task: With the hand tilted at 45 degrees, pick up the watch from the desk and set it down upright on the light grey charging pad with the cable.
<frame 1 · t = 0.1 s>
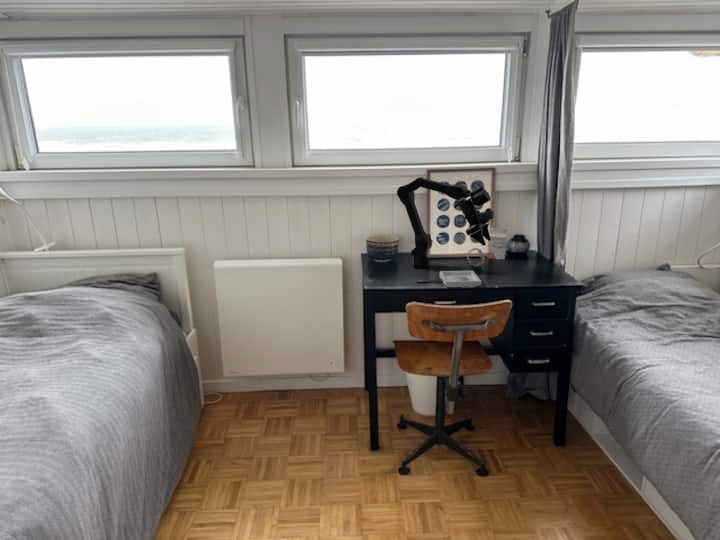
hand: (487, 242, 213), 15 cm above the table, tool tilted 35°, fingers open, 9 cm apart
ink cartridge box: (496, 258, 244), on the table
watch: (475, 272, 222), on the table
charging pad: (459, 281, 210), on the table
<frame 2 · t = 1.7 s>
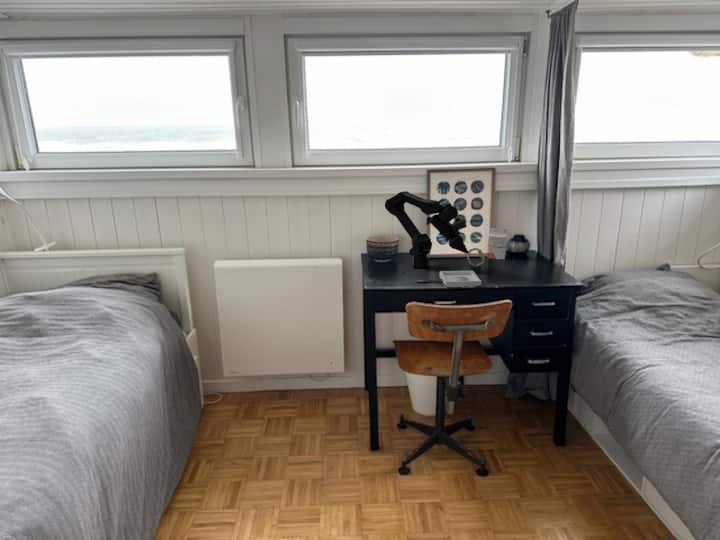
hand: (466, 250, 219), 10 cm above the table, tool tilted 45°, fingers open, 9 cm apart
nothing on the table moved.
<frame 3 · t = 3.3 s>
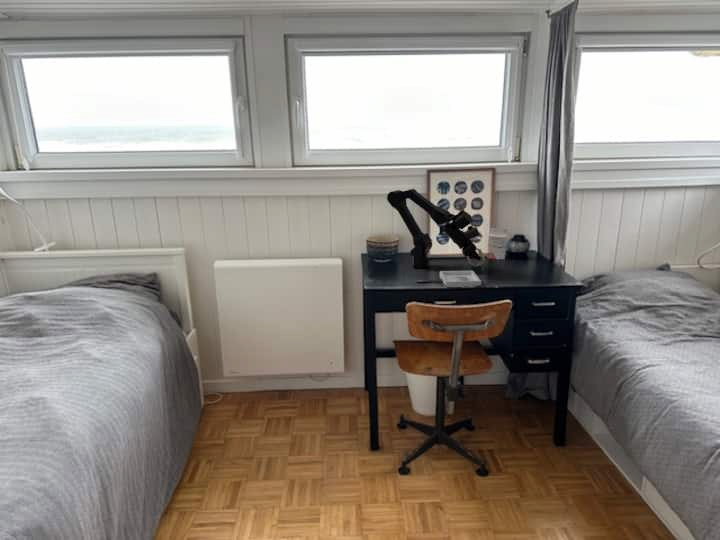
hand: (479, 258, 220), 7 cm above the table, tool tilted 45°, fingers closed on watch, 5 cm apart
watch: (475, 272, 222), on the table, touching gripper
everything else where it was.
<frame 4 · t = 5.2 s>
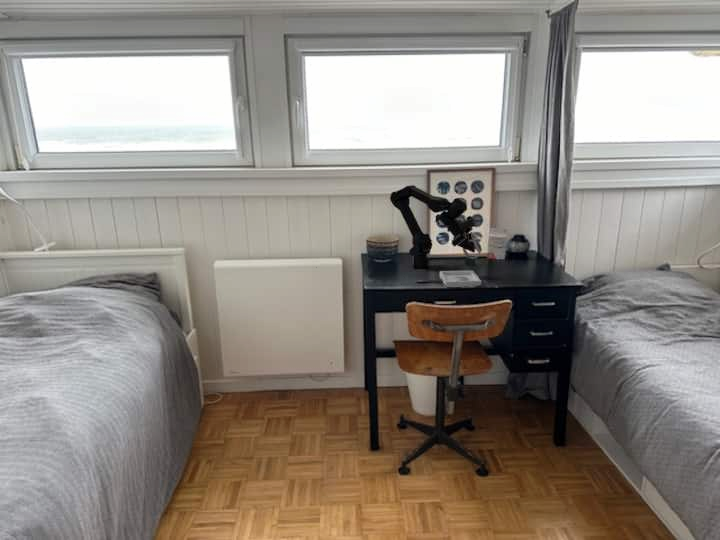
hand: (475, 250, 212), 12 cm above the table, tool tilted 45°, fingers closed on watch, 5 cm apart
watch: (471, 264, 214), point 5 cm above the table, touching gripper
everything else where it was.
when the fingers open (8 cm above the table, at t = 7.2 s): watch stays where it is, resting on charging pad.
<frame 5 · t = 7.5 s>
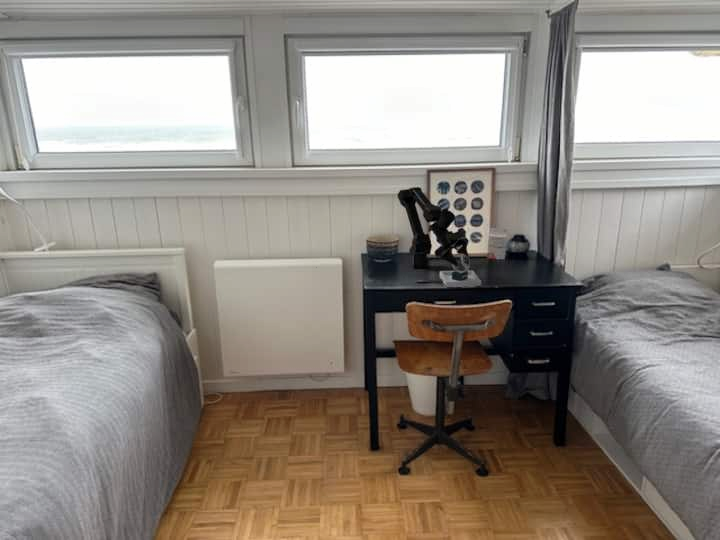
hand: (463, 263, 206), 9 cm above the table, tool tilted 45°, fingers open, 9 cm apart
watch: (459, 279, 209), point 1 cm above the table, touching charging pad
everything else where it was.
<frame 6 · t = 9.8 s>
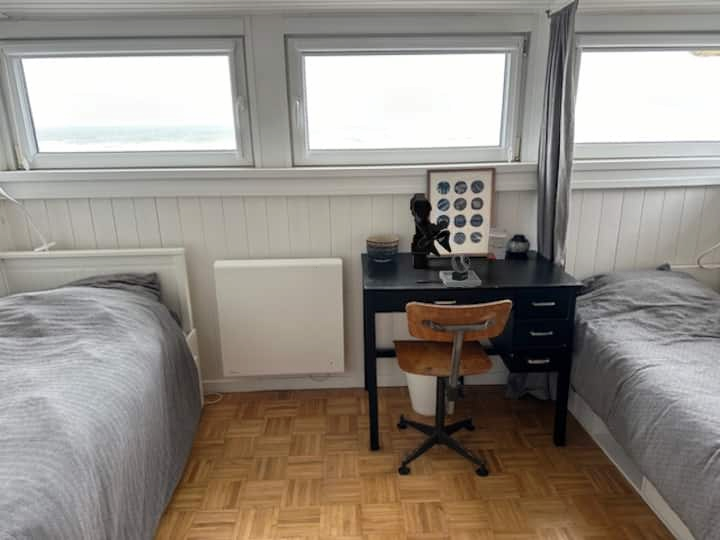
hand: (445, 254, 212), 11 cm above the table, tool tilted 45°, fingers open, 9 cm apart
nothing on the table moved.
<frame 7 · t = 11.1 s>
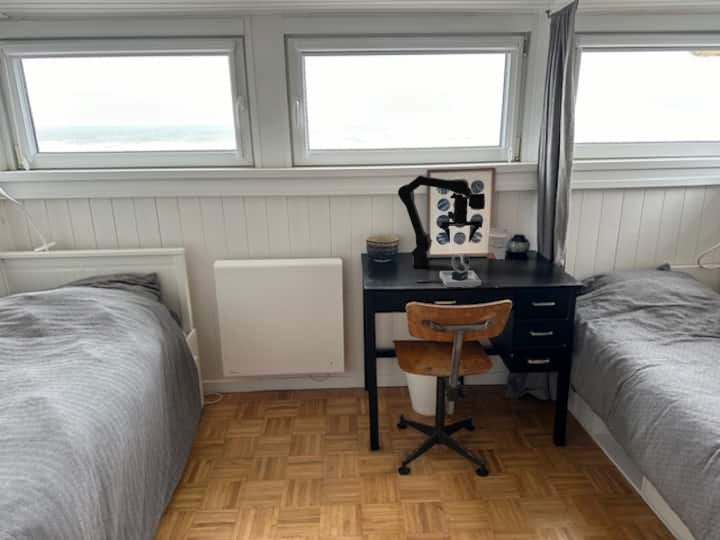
hand: (459, 242, 222), 13 cm above the table, tool pointing down, fingers open, 9 cm apart
nothing on the table moved.
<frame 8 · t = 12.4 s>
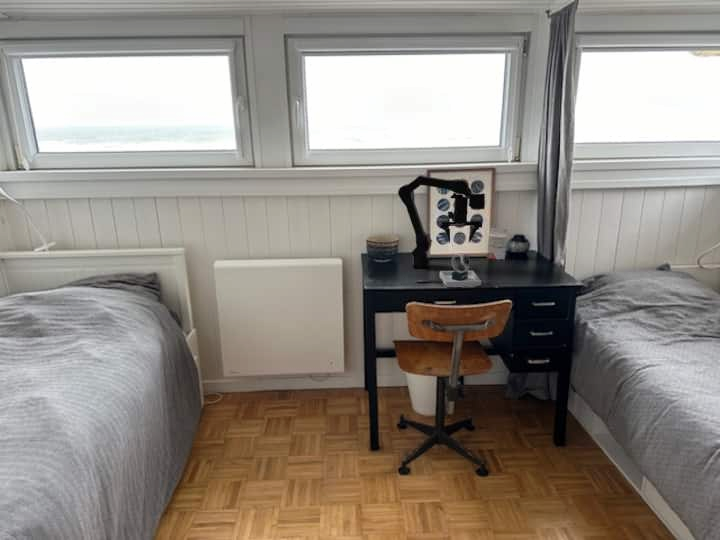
hand: (459, 242, 222), 13 cm above the table, tool pointing down, fingers open, 9 cm apart
nothing on the table moved.
at the end: watch inside the target area on the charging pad (0.1 cm from its centre), point 1.1 cm above the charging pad's base; watch tilted 0°; the gripper is holding nothing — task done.
